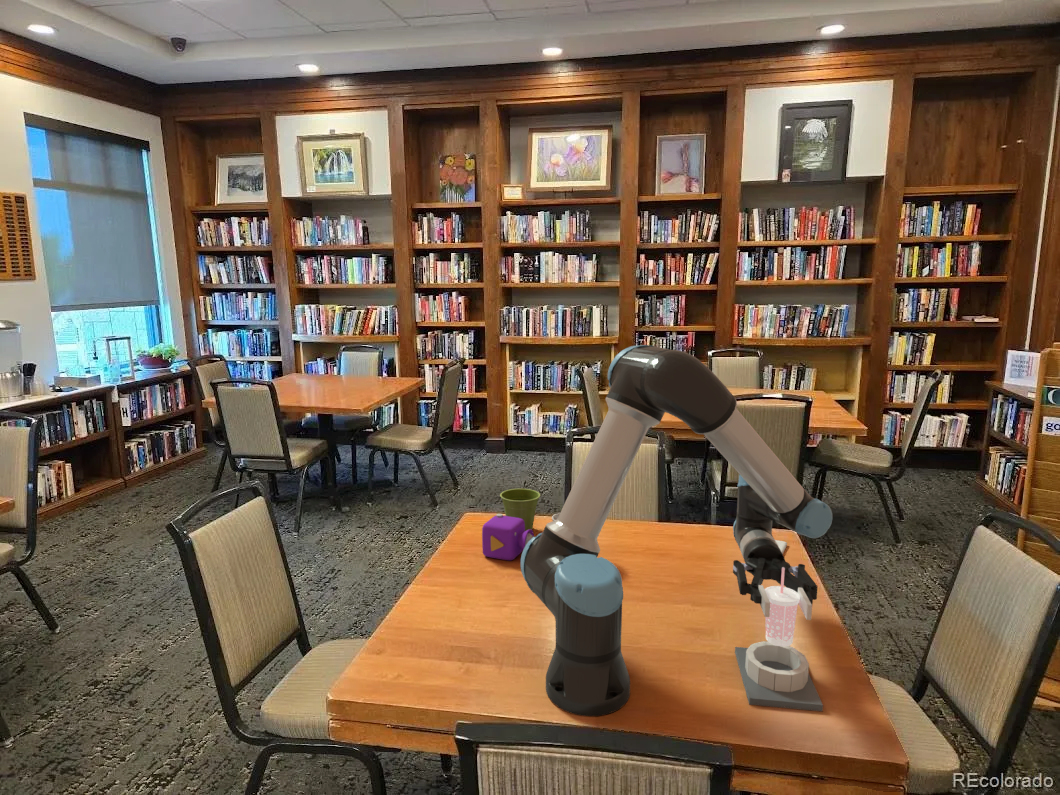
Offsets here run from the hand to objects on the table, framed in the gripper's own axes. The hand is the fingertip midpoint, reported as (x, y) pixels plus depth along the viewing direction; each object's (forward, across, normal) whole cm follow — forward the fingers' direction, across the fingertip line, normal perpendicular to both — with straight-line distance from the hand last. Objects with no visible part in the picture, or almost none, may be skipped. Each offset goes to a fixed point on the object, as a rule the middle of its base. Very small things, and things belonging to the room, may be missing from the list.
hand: (788, 611), depth 109 cm
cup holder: (-5, 0, -16) cm, 17 cm away
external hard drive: (-65, -10, -18) cm, 68 cm away
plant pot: (-69, +59, -16) cm, 92 cm away
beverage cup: (-5, 0, -9) cm, 10 cm away
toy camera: (-52, +59, -16) cm, 80 cm away
